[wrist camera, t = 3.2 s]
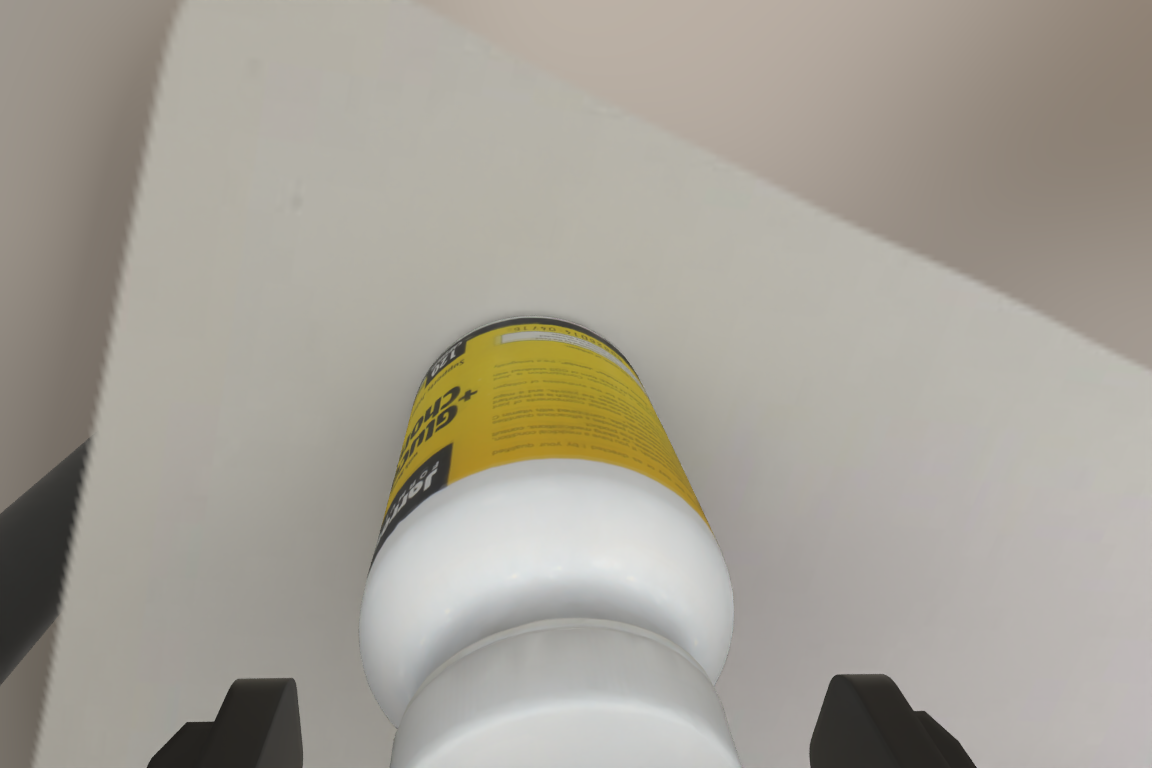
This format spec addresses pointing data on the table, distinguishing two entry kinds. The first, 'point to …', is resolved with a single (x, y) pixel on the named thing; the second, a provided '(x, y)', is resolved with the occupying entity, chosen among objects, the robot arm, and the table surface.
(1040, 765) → the table surface
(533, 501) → the pill bottle
